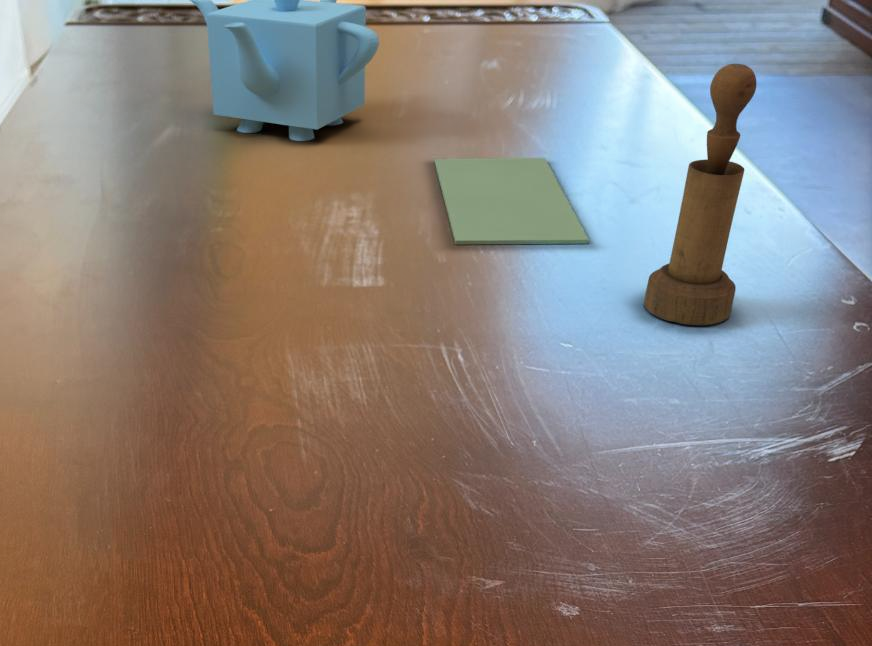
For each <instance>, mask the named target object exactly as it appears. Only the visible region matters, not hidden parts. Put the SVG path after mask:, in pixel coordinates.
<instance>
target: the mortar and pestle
mask: <svg viewBox="0 0 872 646" xmlns="http://www.w3.org/2000/svg"><path fill="white" fill-rule="evenodd" d="M756 89H757V76H756V74H755V71H754V70H753V69H752V68H751V67H750V66H748V65H746V64H744V63H743V64H742V63H729V64H726V65H724V66H722V67H721V68H720V69H719V70H717V72H716V73H715V74H714V76H713V78H712V80H711V82H710V87H709V95H710V99H711V102H712V105H713V108H714V111H715V122H714V126H713V127H712V129H709V130H707V132H706V156H707V159H697V160H694V161H691V162H689V163H688V167H687V172H686V177H685V183H684V188H683V194H682V199H681V205H680V209H679V214H678V219H677V225H676V230H675V235H674V240H673V245H672V248H671V252H670V253H671V254H670V259H669V263H666V264H664V265H662V266H661V267H660V268H658V269H656V270H654V271H652V273H651V274H649V276H648V280H647V284H646V289H645V294H644V300H643V306H644V308H645V310H646V311H648V313H650V314H651V315H653V316H655V317H657V318H659V319H661V320H663V321H667V322H672V323H677V324H680V325H687V326H710V325H717V324H719V323H722V322H724V321H726V320H728V318H729V317H730V315H731V313H732V309H733V304H734V299H735V294H736V289H737V288H736V284H735V282H734V281H733V280H732V279H731V278H730V277H729V275H728V273H726V271H724V270H723V266H724V261H725V256H726V251H727V247H728V243H729V238H730V234H731V228H732V225H733V220H734V215H735V212H736V208H737V203H738V199H739V195H740V191H741V187H742V183H743V182H742V181H743V178H744V174H745V167H743V166H742V165H741V164H740V163H737V162H734V161H730V160H731V158H732V156H733V155H734V152H735V150H736V149H737V146H738V145H739V144H738V143H739V141H740V138H741V133H740V131H738V130H737V129H738V128H737V124H738V120H739V116H740V114H741V113H742V112H743V111H744V109H745V108H746V107H747V106H748V104H749V103H750V102H751V100H753V97H754V95H755V93H756Z"/></svg>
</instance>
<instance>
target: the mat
mask: <svg viewBox="0 0 872 646" xmlns="http://www.w3.org/2000/svg"><path fill="white" fill-rule="evenodd" d="M433 163H434V167H435V171H436V175H437V178H438V183H439V187H440V190H441V194H442V198H443V202H444V206H445V210H446V213H447V216H448V221H449V225H450V229H451V233H452V236H453V241H454V244H455V245H456V246H457V245H458V246H459V245H575V244H576V245H587V244H589V241H590V238H589V237H588V236H587V234H586V232H585V230H584V228H583V226H582V224H581V222H580V220H579V219H578V217H577V215H576V213H575V212H574V211H575V210H574V209H573V208H572V206H571V204H570V202H569V200H568V198H567V196H566V195H565V192H564V191H563V189H562V187H561V186H560V183H559V182H558V180H557V177H556V176H555V174H554V172H553V170H552V169H551V167H550V165H549V162H548V161H547V159H546V157H492V158H491V157H487V158H484V157H483V158H481V157H479V158H474V157H473V158H471V157H470V158H468V157H467V158H465V157H463V158H434V160H433Z"/></svg>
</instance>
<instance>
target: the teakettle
mask: <svg viewBox="0 0 872 646" xmlns="http://www.w3.org/2000/svg"><path fill="white" fill-rule="evenodd" d="M189 1H190V2H191V3H192V4H193V5H195V6H196V7H197V9H199V11H200V13H201V14H202V16H203V18H204V20H205V24H206V28H207V40H208V41H207V43H208V57H209V71H210V84H211V86H210V87H211V97H212V111H213V112H212V113H213V115H216V116H222V117H228V118H234V119H241V121H240V122H239V125H238V127H237V128H236V132H239V133H245V134H252V133H258V132H261V131H262V128H263V126H264V123H270V124H277V125H281V126H288V138H289V139H290V140H291V141H295V142H306V141H311V140H314V139H315V134H314V130H317V131H318V130H319V129H321V128H323V127H325V126H338V125H339V126H340V125H341V124H343V123H344V121H343V119H342V117H344V116H346V115H348V114H349V113H351V112H354V111H355V110H358V109H359V108H361V107H364V106H365V103H366V101H365V100H366V66H367V65H368V64H369V63H370V62H371V61H372V60H373V58H374V57H375V55H376V54H377V52H378V48H379V45H380V38H379V35H378V34H377V33H376V32H375V31H374V30H372V29H371V28H369V27H366V26H367V25H366V21H367V8H366V6H365V5H361V4H360V5H359V4H349V3H340V2H339V3H338V2H337V0H319V1H318V0H317V1H316V0H246V1H242V2H239V3H236V4H233V5H230V6H226V7H224V8H220V9H219V8H218V7H217V5H216V4H215V2H214V1H212V0H189Z"/></svg>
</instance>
